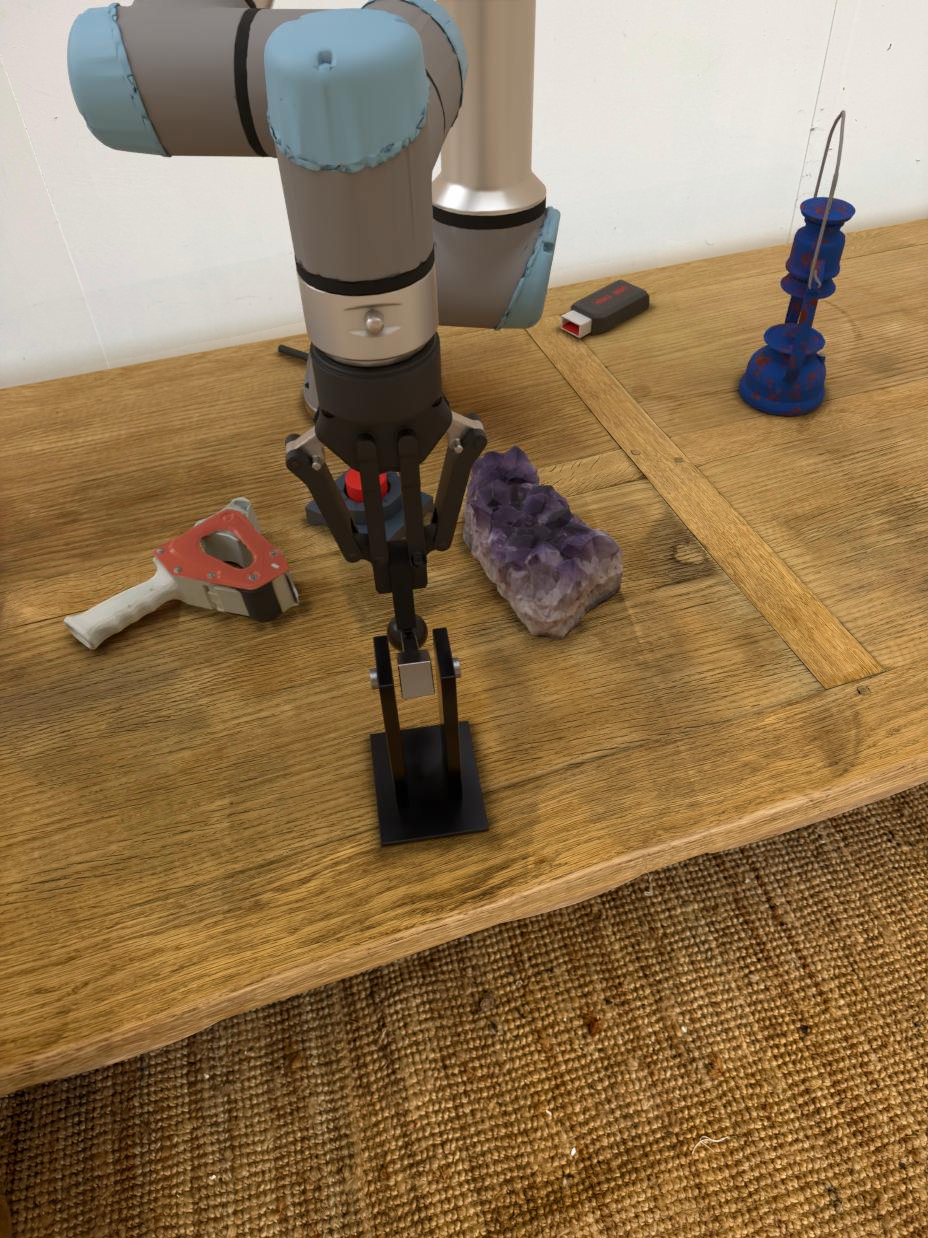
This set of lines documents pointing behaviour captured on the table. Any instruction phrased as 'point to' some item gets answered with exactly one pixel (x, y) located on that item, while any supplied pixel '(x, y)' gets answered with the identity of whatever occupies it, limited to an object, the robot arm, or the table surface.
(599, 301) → the usb drive
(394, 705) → the switch bracket
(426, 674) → the switch lever
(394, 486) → the button box
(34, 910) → the table surface
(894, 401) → the table surface
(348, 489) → the button
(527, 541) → the geode
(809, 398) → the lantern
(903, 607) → the table surface
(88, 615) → the tape dispenser
